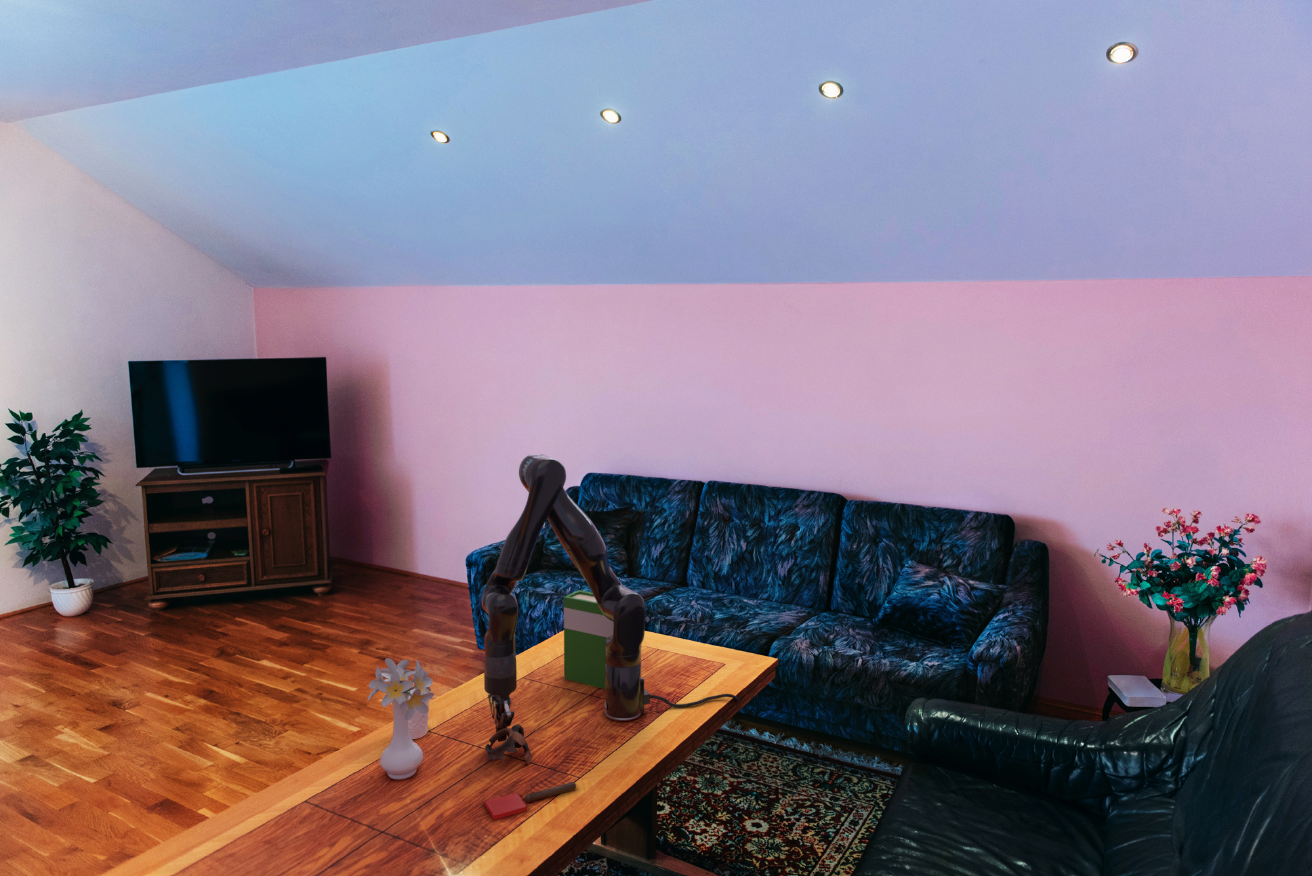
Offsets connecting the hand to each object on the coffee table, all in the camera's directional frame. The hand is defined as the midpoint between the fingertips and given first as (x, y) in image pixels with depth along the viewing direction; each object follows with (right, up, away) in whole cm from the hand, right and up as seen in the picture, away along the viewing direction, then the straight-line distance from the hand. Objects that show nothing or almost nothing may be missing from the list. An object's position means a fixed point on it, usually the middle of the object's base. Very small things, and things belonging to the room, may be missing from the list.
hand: (501, 739), depth 199 cm
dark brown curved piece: (+3, -2, -6) cm, 7 cm away
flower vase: (-19, -3, -13) cm, 23 cm away
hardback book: (+20, +3, +38) cm, 43 cm away
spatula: (+11, -4, -23) cm, 26 cm away
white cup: (-23, -1, +6) cm, 23 cm away
